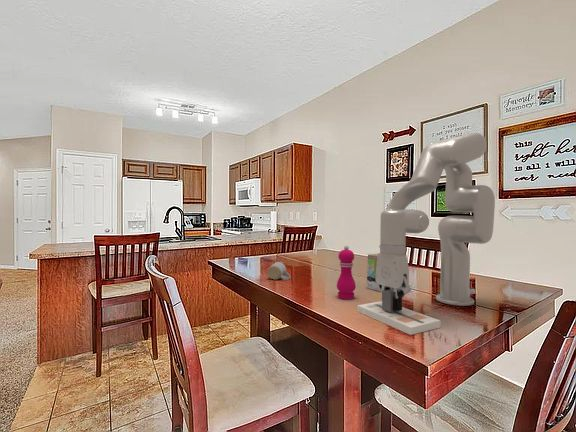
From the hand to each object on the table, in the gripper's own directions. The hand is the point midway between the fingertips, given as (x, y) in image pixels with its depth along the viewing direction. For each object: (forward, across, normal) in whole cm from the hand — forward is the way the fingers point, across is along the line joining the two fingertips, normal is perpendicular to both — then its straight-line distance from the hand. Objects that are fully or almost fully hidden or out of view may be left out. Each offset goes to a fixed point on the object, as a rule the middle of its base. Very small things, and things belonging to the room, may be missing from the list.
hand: (392, 307), depth 98 cm
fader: (+1, 0, 0) cm, 1 cm away
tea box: (+3, -29, +26) cm, 39 cm away
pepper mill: (+3, -24, +1) cm, 25 cm away
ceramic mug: (+3, -65, -8) cm, 66 cm away
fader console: (+3, +2, 0) cm, 3 cm away
